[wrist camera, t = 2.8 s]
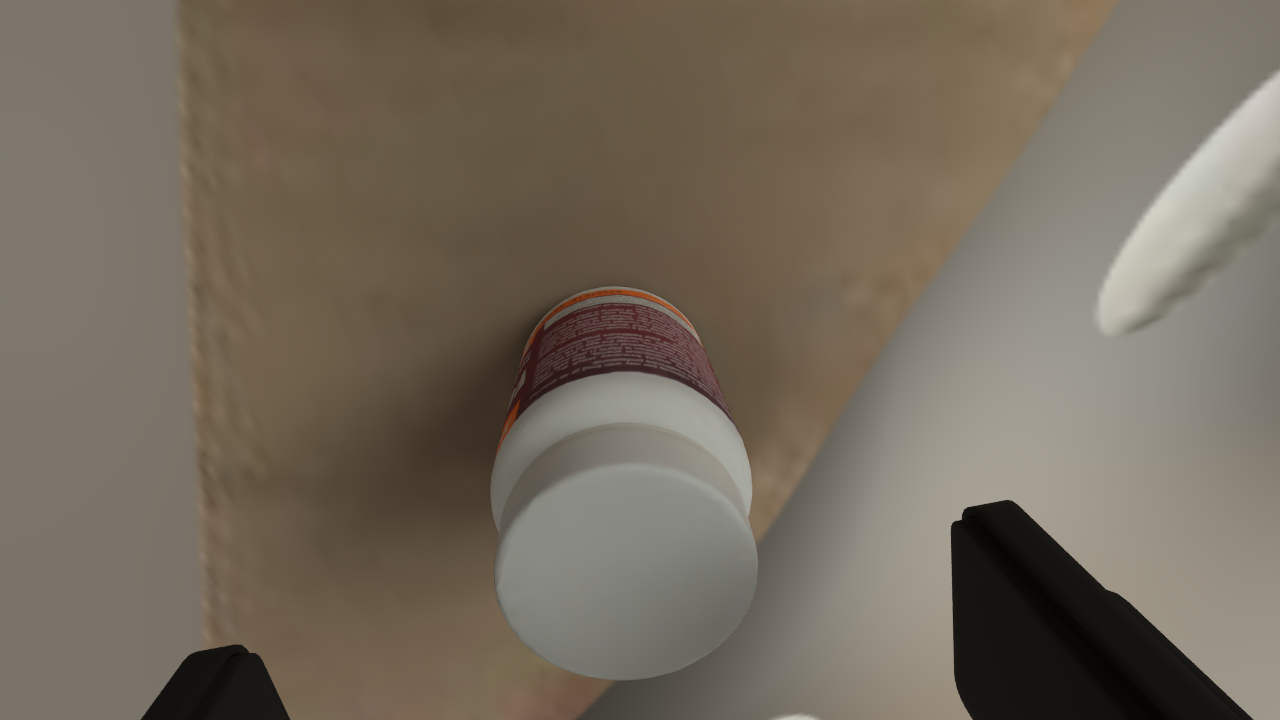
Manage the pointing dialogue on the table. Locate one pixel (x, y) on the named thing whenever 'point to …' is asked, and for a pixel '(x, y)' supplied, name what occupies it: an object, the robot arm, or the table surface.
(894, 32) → the table surface
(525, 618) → the pill bottle
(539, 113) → the table surface
